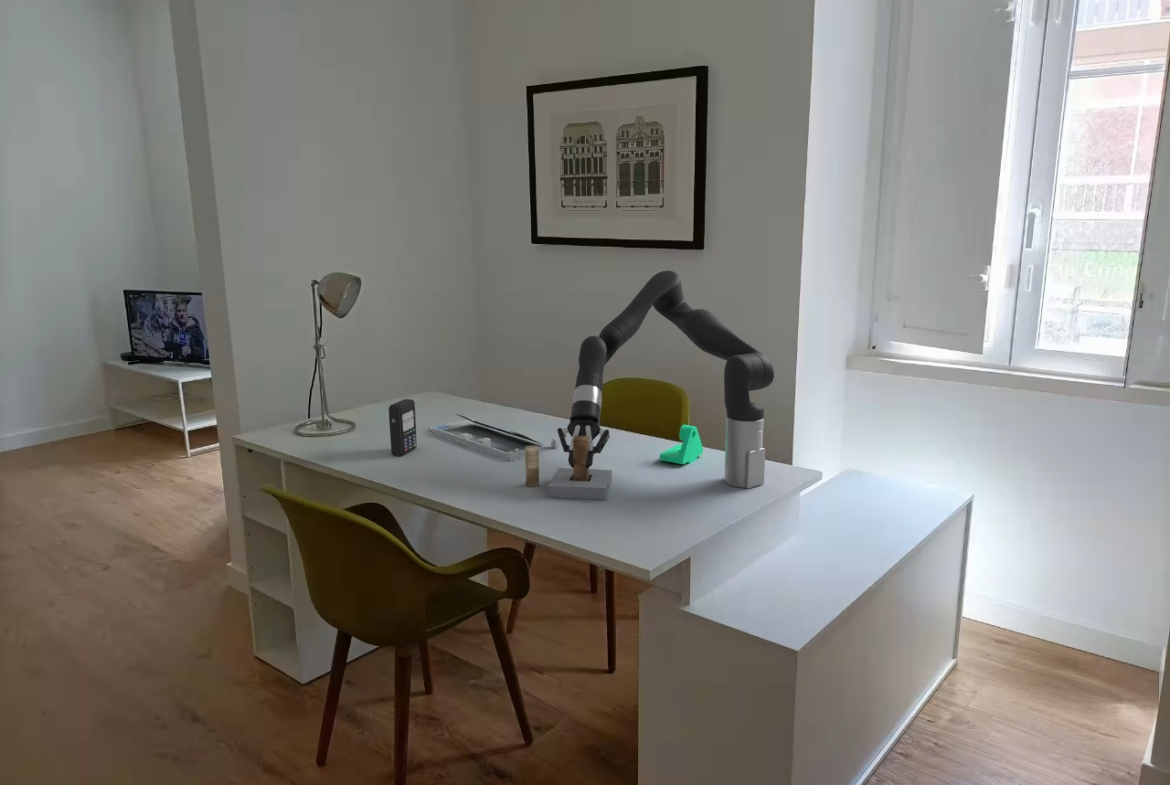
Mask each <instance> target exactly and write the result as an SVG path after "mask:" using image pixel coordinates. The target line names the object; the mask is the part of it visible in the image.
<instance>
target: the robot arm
mask: <svg viewBox="0 0 1170 785" xmlns="http://www.w3.org/2000/svg"><path fill="white" fill-rule="evenodd" d="M682 286H683V284H682V281H681V277H680V276H679V274H678V273H677V272H675V271H673V270H662V271H659V272H657V273H656V274H654V275H652V277H651V278H650V279H649V280H648V281H647V282H646V283H645V285H644V286H643V287H642V288H641V289H640V291H639V292H638V293H637V294H636V295H635V297H634V298H633V299H632V301H631V302H630V303H629V304H627V306H626V307H625V308H624V309H623V311H621V312H620V313H619V314H618V315H617V316H616V317H615V318H613V319H612V320H611V321H610V322H608V324H607V325H605V326H604V327H603V328H602V329H601V331H600V333H599V335H590V336H588V337H586V338H585V339H584V340H583V341H582V342H581V344H580V348H579V354H578V364H579V365H578V372H577V375H576V380H575V388H574V393H573V396H572V401H571V410H570V411H571V412H570V418H569V419H570V420H569V423H568V425H567V427H564V428H561V427H559V428H557V429H556V430H557V436H558V438H559V441H560V443H561V447H562V450H563V452H564V453H568V460H567V461H568V465H569V466H570V468H573V467H574V458H573V439H574V437H575V436H589V441H588V453H587V459H586V468H589V469H591V468H590V467H592V465H593V461H594V455H596V454H601V453H602V451H603V450H604V447H605V446H606V444H607V442H608V441H609V439H610V438H611V436H610V435H611V434H610V430H609V429H602V428H601V426H600V423H601V410H602V402H603V400H602V399H603V397H602V396H603V395H602V392H603V382H604V381H603V379H604V369H605V366H606V364H607V363H608V362H609V361H610V360H612V359H611V358H612V357H613V356H614V355H615V354H616V352H617V351H618V350H619V349H620V348H621V347H622V346H624V345H625V344H626V343H627V342H628V341H630V339H632V338H633V336H635V335H636V333H638V331H639V329H640V328H641V326H642V324H643V322H644V321H645V318H646V317H647V314H648V312H649V311H650V309H651V308H652V307H653V308H654V310H655V311H656V312H657V313H659V314H660V315H661V316H662V317H664V318H665V319H667V320H668V321H669V322H671V323H672V324H673V325H675V326H676V328H678V329H679V330H680V331H681V332H682V333H683V334H684V335H685V336H686V337H687V338H688V339H689V340H690V342H692V343H693V344H694V345H695V346H696V347H697V348H698V349H700V350H701V351H703V352H704V353H706V354H709V355H711V356H713V357H716V358H720V359H722V360H724V361H726V362H725V365H724V370H723V383H724V384H723V385H724V388H723V389H724V393H723V394H724V406H725V410H726V418H725V419H726V420H725V421H726V422H725V423H726V424H725V425H726V426H725V448H724V449H725V450H724V451H725V453H724V481H723V482H724V483H726V484H727V485H729V486H731V487H736V488H737V487H738V488H744V489H751V488H755V487H758V486H761V485H764V483H765V470H766V469H765V468H766V464H765V463H766V448H765V447H763V438H764V422H765V420H764V418H765V417H764V416H765V408H764V407H763V406H762V405H761V404H760V403H756V402H752V401H751V400H750V392H751V391H757V390H762V389H765V388H768V387H769V386H770V385H772V383H773V382H774V379H775V369H774V366H773V364H772V362H771V360H770V359H769V358H768V356H766V355H765V354H764V353H763V352H761V351H759V349H756V347H754V346H752V345H751V344H749V343H747V342H746V341H745V340H743V339H742V338H741V337H740V336H738V334H736V333H735V332H734V331H733V330H732V329H730V328H729V327H728V326H727V325H726V324H725V323H724V322H723V321H722V320H721V319H720V318H718V317H717V316H716V315H715V314H714V313H712V312H711V311H710V310H707V309H704V308H700V309H699V308H697V309H693V307H691V306H690V305H689V304H688V303H687V301H686V300H685V297H684V292H683V287H682ZM568 434H569V435H570V436H571V441H570V445H569V444H567V443H568V442H567V440H566V437H567V436H568ZM598 436H599V437H600V438H599V440H598V441H597V443H596V445H595V446H594V442H593V441H594V440H595V439H596V437H598Z"/></svg>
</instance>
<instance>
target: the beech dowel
mask: <svg viewBox="0 0 1170 785" xmlns="http://www.w3.org/2000/svg"><path fill="white" fill-rule="evenodd" d="M539 448H540V447H539V446H538V445H534V444H533V445H531V444H530V445H527V446H525V447H524V456H525V457H524V459H525V460H524V461H525V486H526V487H527V486H528V487H529V488H537V487H539V486H540V460H539V457H540V452H539V450H540V449H539Z"/></svg>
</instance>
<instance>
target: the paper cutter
mask: <svg viewBox="0 0 1170 785" xmlns="http://www.w3.org/2000/svg"><path fill="white" fill-rule="evenodd" d="M455 415H456V416H458V417H460V419H457V420H456V419H455V420H453V421H449V422H446V423H445V424H440V425H435V426H428V427H427V428H428V430H429V431H431V432H432V434H433V435H434V436H438V437H440V438H442V437H443V438H442V439H445V440H448V439H449V440H448V441H451V442H454V443H456V442H457V444H459V443H460V444H459V445H462V444H463V446H465V445H466V446H465V447H468V446H469V447H468V448H471V447H472V448H471V449H473V448H474V450H476V449H477V450H476V451H479V450H481V451H480V452H482V451H483V453H485V452H486V453H485V454H487V453H489V454H488V455H490V454H491V456H493V455H494V456H493V457H496V456H497V457H496V458H499V457H500V458H499V459H502V458H503V459H502V460H504V459H505V461H507V460H508V462H510V461H512V462H516V461H519V460H521V459H520V452H519V448H518V447H517V448H515V449H514V450H515V452H514V451H513V450H510V451H507V452H506V451H503V450H501V449H497V448H495V447H492V439H491V438H489V437H483V438H478V439H477V440H476V441H475V440H473V434H470V433H467V432H464V433H459V434H458V435H457V434H456V433H455V434H454V433H451V432H449V431H448V429H449V430H454V429H457V428H462V427H461V426H463V427H466V426H465V425H467V426H469V425H468V424H472V425H474V424H473V423H476V424H477V425H480V426H483V427H485V428H490V429H492V430H495V431H498V432H502V433H505V434H507V435H511V436H514V437H517V438H521V439H522V440H523V439H524V440H527V441H530V442H533V443H536V444H539V445H543V446H544V444H543V443H541V442H539V441H536V440H534V439H532V438H530V437H528V436H526V435H523V434H521V433H519V432H515V431H512V430H510V431H507V430H504V429H501V428H499V427H495V426H491V425H488V424H485V423H482V422H478V421H476V420H475V419H474V418H473V417H471V418H468V417H466V416H463V415H460V414H457V413H455ZM461 418H463V419H461ZM453 428H454V429H453ZM443 430H445V431H443ZM469 439H471V440H469ZM550 448H552V449H553V450H558V449H559V443H558V439H556V438H552V441H551V442H550ZM515 460H516V461H515Z"/></svg>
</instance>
